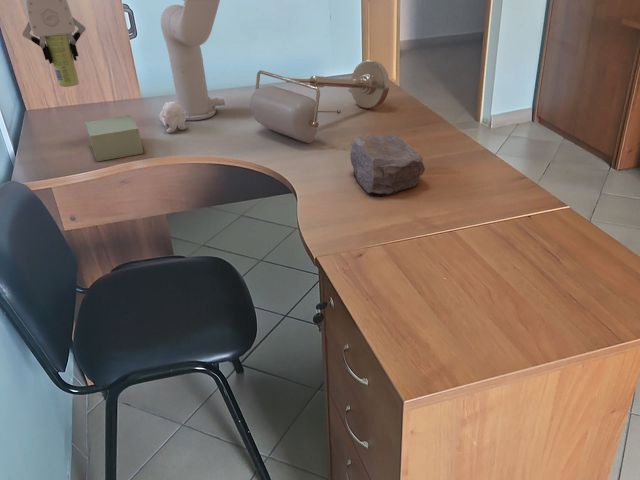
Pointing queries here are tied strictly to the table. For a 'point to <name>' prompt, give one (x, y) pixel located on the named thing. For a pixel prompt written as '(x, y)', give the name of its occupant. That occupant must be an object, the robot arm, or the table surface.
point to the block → (114, 137)
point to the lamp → (301, 111)
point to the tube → (62, 59)
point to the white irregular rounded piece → (173, 116)
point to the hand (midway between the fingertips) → (62, 60)
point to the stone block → (385, 164)
